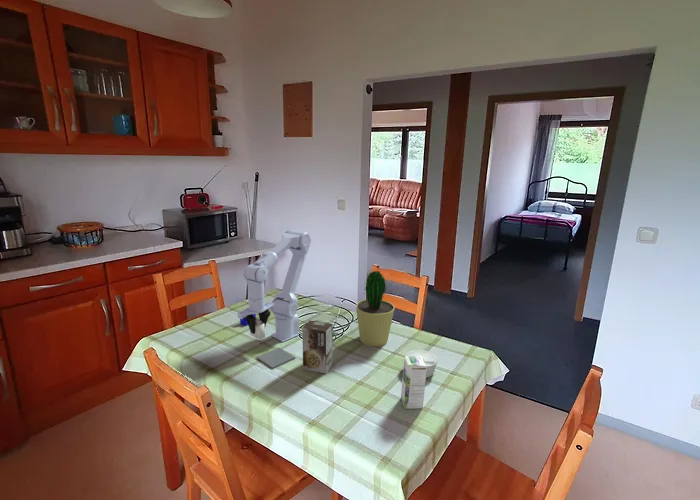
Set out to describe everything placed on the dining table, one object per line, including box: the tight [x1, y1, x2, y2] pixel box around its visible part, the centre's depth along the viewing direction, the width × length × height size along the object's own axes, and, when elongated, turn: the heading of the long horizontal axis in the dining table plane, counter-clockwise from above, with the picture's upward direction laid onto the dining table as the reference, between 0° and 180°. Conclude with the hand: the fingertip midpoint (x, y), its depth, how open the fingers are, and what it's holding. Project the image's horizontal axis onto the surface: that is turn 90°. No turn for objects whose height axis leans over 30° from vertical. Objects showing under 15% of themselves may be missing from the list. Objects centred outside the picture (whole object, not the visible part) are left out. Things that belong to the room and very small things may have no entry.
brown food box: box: [301, 320, 334, 375], centre depth 130 cm, size 9×6×16 cm
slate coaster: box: [256, 347, 296, 370], centre depth 137 cm, size 10×10×1 cm
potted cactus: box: [355, 270, 396, 347], centre depth 149 cm, size 15×15×30 cm
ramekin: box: [404, 349, 438, 379], centre depth 131 cm, size 11×11×5 cm
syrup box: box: [400, 356, 427, 410], centre depth 112 cm, size 6×6×14 cm
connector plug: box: [249, 318, 266, 340], centre depth 139 cm, size 4×7×6 cm, turn 46°
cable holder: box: [239, 314, 257, 327], centre depth 166 cm, size 8×4×4 cm, turn 154°
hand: (257, 331), depth 140 cm, fingers closed on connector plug, 4 cm apart
